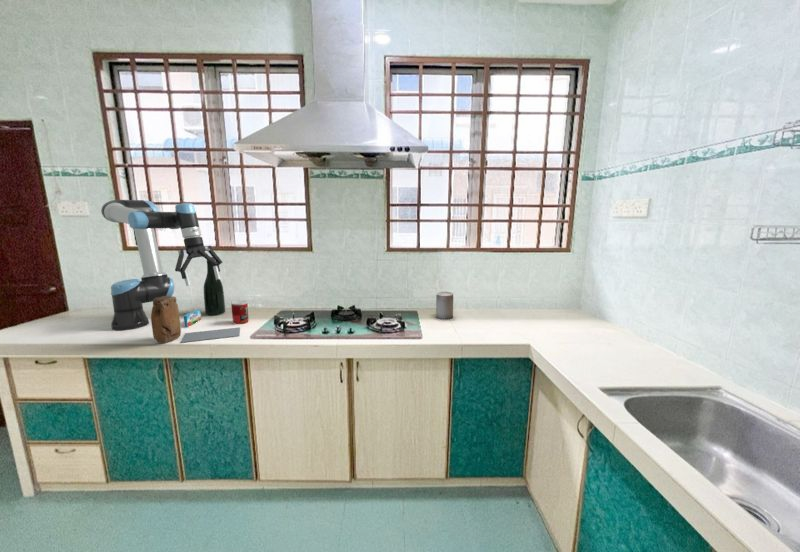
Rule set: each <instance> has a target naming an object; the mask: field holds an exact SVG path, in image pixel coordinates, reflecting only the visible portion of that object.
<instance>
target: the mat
mask: <svg viewBox="0 0 800 552" xmlns="http://www.w3.org/2000/svg"><path fill="white" fill-rule="evenodd" d="M240 331H241V327H240V326H239V327H231V328H220V329H211V330H202V331H194V332H193V331H192V332H185V333H184V335H183V336H182V338H181V341H180V342H179V343H180V344H184V343H193V342H200V341H202V342H203V341H211V340H218V339H227V338H235V337H236V338H237V337H240Z"/></svg>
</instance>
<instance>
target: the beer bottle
mask: <svg viewBox="0 0 800 552" xmlns="http://www.w3.org/2000/svg"><path fill="white" fill-rule="evenodd" d="M210 257H211V258H212V259H214V258H213V257H212V256H210ZM214 260H215V259H214ZM215 261H216V260H215ZM213 266H215V265H213V264H212V263H211V262H209V261H208V260H207V259H206V270H207V271H206V277H205V280H204V283H203V300H204V301H203V302H204V303H203V304H204V305H203V306H204V313H205V315H207V316H212V317H213V316H214V317H215V316H219V315H224V314H225V313H226V303H225V292H224V285H223V282H222V281H221V278H220V279H216V277H215V273H214V269H213Z"/></svg>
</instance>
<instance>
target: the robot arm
mask: <svg viewBox="0 0 800 552" xmlns="http://www.w3.org/2000/svg"><path fill="white" fill-rule="evenodd" d="M174 207H175V208H174V209H175V211H159V210H158V207H157V205H156V204H155V203H154V202H153V201H150V200H143V199H141V200H140V199H112V200H109V201H107V202H105V203H103V205H102V207H101V208H100V209H101V211H100V212H101V214H102V217H103V218H104V219H105V220H107V221H108V222H112V223H123V224H127V225H129V228H132V229H133V230H134V234H135V239H136V240H135V241H136V244H137V250H138V253H139V254H138V255H139V258H140V262H141V263H140V264H141V266H142V267H141V268H142V272H143V275H142V276H141V277H140V279H141V280H140V279H138V278H130V279H124V280H120V281H117V282H115V283H112V285H110V286H111V287H110V295H111V299H112V300H111V301H112V306H113V317H112V321H111V325H110V326H111V329H112V330H114V331H123V330H124V331H127V330H133V329H138V328H142V327H145V326H147V325H149V323H150V321H149V317H148V315H147V314H146V312H145V311H144V306H143V304H145V303H153V299H155V298H157V297H162V296H171V297H173V295H174V293H175V282H174V280H173V278H172V277H169V276H168V274H167V273H166V272H164V270H163V266H162V261H161V260H162V259H161V255H160V252H159V247H158V241H157V237H156V232H155V229H170V230H178V229H180V231H181V235H182V236H181V237H182V238H183V243H184V247H185V249H179V250H178V256H177V262H176V265H175V268H174V271H175V272H178V273H180V275H181V278H182V280H184V281H185V285H186V286H187V287H188V286H191V282H190V281H191V280H190V278H189V274H188V271H186V269H187V268H188V267H189V264H190V263H191V261H192V259H196V258H201V257H202V258H204V259H205V260H206V261H207V260H208V261H209V262H211V263H212V264H213V265H215V266H213V269H214V273H215V277H216V279H220V280H221V276H220V275H221V274H220V272H221V269H220V265H221V264H223V261H222V260H221V258H220V257H219V256H218V254H217V253H216V252H215V251H214V250H213V248H212V246H211V245H207V246H205V245H204V240H203V237H202V233H201V229H200V224H199V220H198V216H197V211H196V208H195V205H194V204H193V203H189V202H186V203H177V204H176V205H175V206H174ZM206 251H207V252H208V253H209V254H210V255H211V256H210V255H208V253H206ZM186 254H187V256H186V259H185V261H184V257H185V255H186ZM211 257H213V258H214V259H215V260H214V259H212V258H211ZM183 261H184V262H183Z"/></svg>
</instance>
